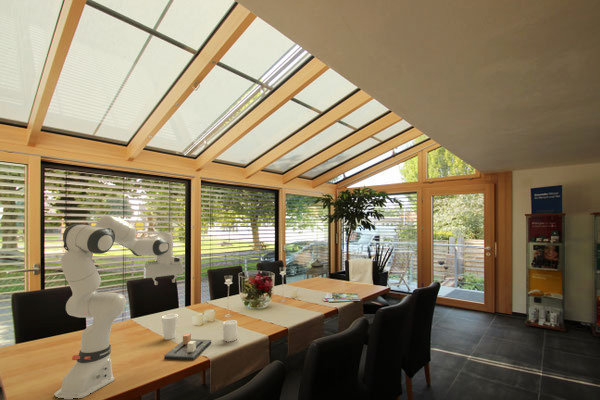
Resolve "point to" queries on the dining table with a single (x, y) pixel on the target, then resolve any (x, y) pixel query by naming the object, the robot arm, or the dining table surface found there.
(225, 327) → the cup
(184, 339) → the block
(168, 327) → the foam cup
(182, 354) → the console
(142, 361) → the dining table surface
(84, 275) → the robot arm
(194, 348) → the block
